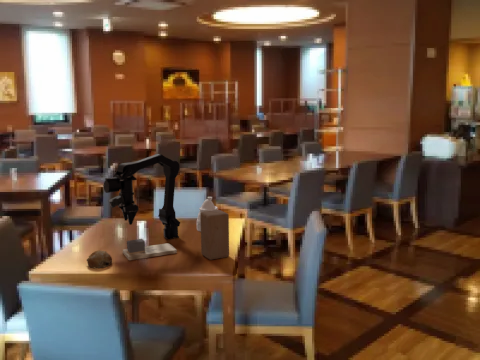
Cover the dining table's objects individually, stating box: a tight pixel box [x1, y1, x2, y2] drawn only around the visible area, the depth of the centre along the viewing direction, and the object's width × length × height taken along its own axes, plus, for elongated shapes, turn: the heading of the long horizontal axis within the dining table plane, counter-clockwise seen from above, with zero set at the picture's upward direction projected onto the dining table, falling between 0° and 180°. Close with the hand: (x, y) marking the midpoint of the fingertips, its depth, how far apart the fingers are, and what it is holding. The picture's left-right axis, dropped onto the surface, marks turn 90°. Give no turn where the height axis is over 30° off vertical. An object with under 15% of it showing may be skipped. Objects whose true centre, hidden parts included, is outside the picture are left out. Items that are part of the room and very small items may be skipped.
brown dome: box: [86, 250, 113, 269], centre depth 204 cm, size 10×10×8 cm
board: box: [122, 243, 178, 261], centre depth 219 cm, size 22×12×2 cm, turn 116°
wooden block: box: [200, 209, 230, 261], centre depth 213 cm, size 10×10×20 cm
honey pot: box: [196, 196, 219, 233], centre depth 258 cm, size 13×13×18 cm
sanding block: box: [126, 238, 146, 254], centre depth 216 cm, size 7×4×5 cm, turn 117°
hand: (128, 222), depth 227 cm, fingers open, 9 cm apart
